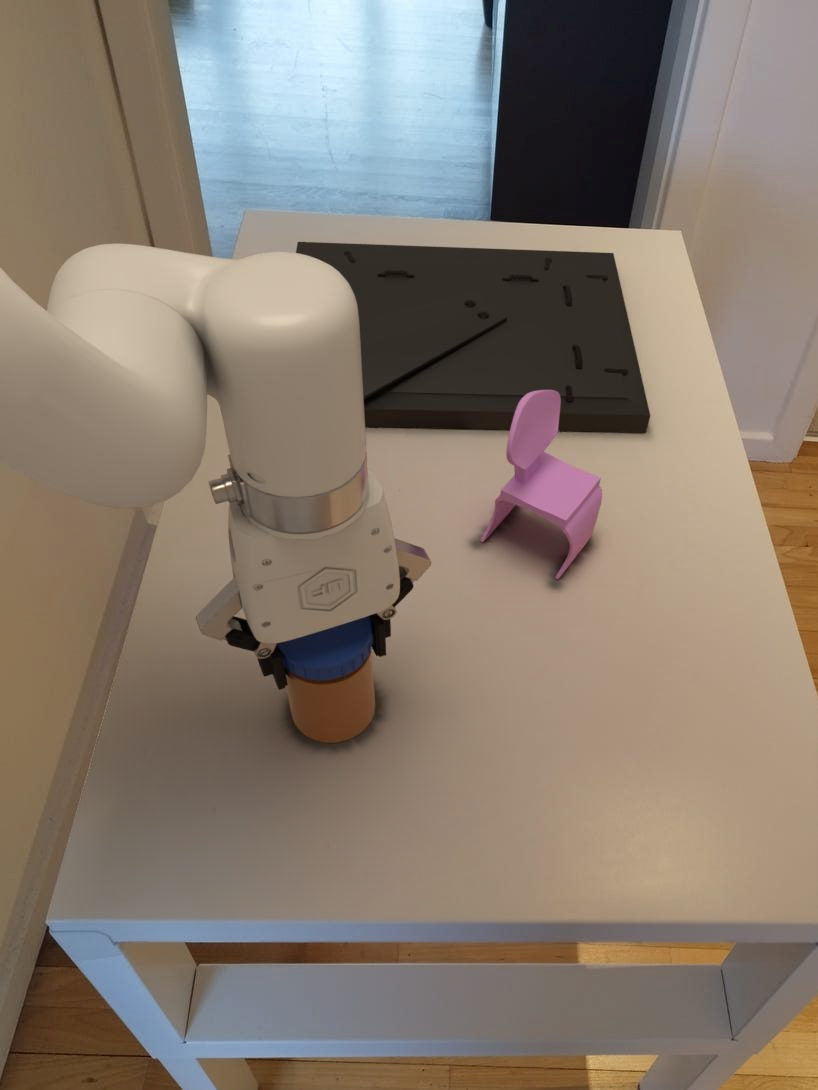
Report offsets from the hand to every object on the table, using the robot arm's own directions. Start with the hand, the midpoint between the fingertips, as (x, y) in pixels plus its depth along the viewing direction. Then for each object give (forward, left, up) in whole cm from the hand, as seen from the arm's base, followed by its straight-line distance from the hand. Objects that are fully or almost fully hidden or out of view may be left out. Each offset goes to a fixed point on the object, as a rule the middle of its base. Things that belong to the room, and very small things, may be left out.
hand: (326, 656), depth 67 cm
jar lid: (0, 0, +3) cm, 3 cm away
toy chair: (+18, +18, -7) cm, 26 cm away
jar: (0, 0, -7) cm, 7 cm away
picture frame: (+12, +49, -7) cm, 51 cm away
